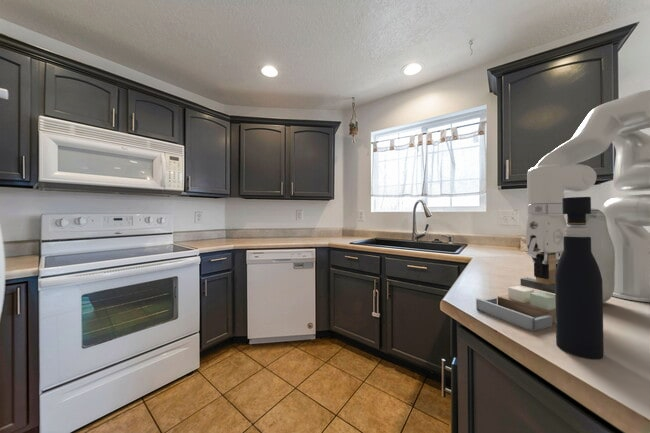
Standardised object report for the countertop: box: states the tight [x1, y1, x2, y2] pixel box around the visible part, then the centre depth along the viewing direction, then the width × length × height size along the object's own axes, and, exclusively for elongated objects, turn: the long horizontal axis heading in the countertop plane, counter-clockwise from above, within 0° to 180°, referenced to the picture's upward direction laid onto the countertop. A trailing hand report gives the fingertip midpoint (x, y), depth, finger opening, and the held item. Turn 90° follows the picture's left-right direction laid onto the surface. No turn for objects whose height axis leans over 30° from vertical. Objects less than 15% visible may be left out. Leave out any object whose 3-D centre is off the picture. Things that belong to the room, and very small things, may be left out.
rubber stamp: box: [520, 253, 556, 295], centre depth 66 cm, size 11×3×10 cm, turn 19°
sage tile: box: [530, 291, 556, 310], centre depth 62 cm, size 4×4×3 cm
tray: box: [475, 297, 553, 332], centre depth 63 cm, size 7×14×3 cm, turn 19°
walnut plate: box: [497, 294, 556, 324], centre depth 66 cm, size 12×12×3 cm
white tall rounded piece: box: [567, 207, 615, 303], centre depth 72 cm, size 10×10×28 cm
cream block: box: [507, 285, 535, 303], centre depth 67 cm, size 4×4×3 cm
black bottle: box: [554, 196, 605, 360], centre depth 47 cm, size 6×6×30 cm
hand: (545, 276), depth 66 cm, fingers closed on rubber stamp, 3 cm apart
